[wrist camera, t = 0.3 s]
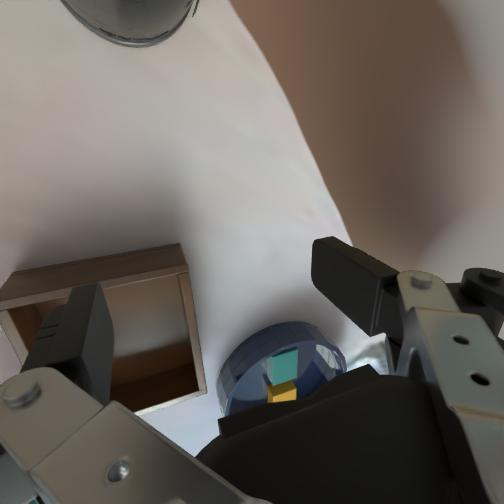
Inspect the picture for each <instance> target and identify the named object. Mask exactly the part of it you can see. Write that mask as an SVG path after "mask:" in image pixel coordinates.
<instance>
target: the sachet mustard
mask: <svg viewBox="0 0 504 504" xmlns="http://www.w3.org/2000/svg"><path fill="white" fill-rule="evenodd" d="M267 395H268V403H271V402H280V401H288V400H296V387H295V385H294V383H293V382H292V380H289V381H286V382H283V383H280V384H277V385H274V386H273V385H272V384H269V385H267Z"/></svg>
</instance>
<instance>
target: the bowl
mask: <svg viewBox="0 0 504 504" xmlns="http://www.w3.org/2000/svg"><path fill="white" fill-rule="evenodd" d="M295 346H296V347H297V349H298V363H297V378H294V379H291V380H292V382H293V383H294V385H295V387H296V400H297V399H304V398H306V397H308V396H310V395H311V394H312V393H314V392H315V391H316V390H318V389H319V388H320V387H322V386H323V385H325V384H326V383H327V382H329V381H330V380H331V379H333V378H334V377H335V376H337V375H340V374H342V373H345V372H346V371H347V367H346V362H345V357H344V356H343V354H342V353H341V351H340V350H339V348H338V347H337V346H336V345H335V344H334V343H333V342H332V341H331V339H330V338H329V337H328V336H327V335H326V334H325V333H324V332H323V331H322V330H321V329H319V328H318V327H316V326H314V325H312V324H309V323H305V322H285V323H281V324H276V325H274V326H271V327H268V328H266V329H264V330H261V331H260V332H258V333H256V334H254V335H253V336H251V337H250V338H248V339H247V340H246V341H244V342H243V343H242V344H241V345H240V346H239V347H238V348H237V349H236V350H235V351H234V352H233V353H232V354H231V356H230V357H229V358H228V359H227V361H226V363H225V364H224V366H223V368H222V370H221V372H220V375H219V378H218V382H217V396H218V401H219V405H220V409H221V412H222V415H223V417H225V416H228V415H231V414H233V413H236V412H239V411H242V410H244V409H247V408H250V407H252V406H255V405H258V404H262V403H268V395H267V385H269V384H272V383H271V381H270V379H269V378H268V376H267V358H269V357H271V356H273V355H275V354H277V353H279V352H280V351H282V350H285V349H289V348H292V347H295Z"/></svg>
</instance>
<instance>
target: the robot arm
mask: <svg viewBox="0 0 504 504" xmlns="http://www.w3.org/2000/svg"><path fill="white" fill-rule="evenodd" d="M193 1H194V0H61V2H62V3H63V4H64V6H65V7H66V8H67V9H68V10H69V11H70V13H71V14H72V15H73V16H74V17H75V18H76V19H77V20H78V21H79V22H80V23H82V24H83V25H84V26H85V27H86V28H88V29H89V30H91V31H92V32H93V33H95V34H97V35H98V36H100V37H102V38H104V39H106V40H108V41H110V42H113V43H115V44H118V45H122V46H127V47H136V48H139V47H149V46H153V45H156V44H159V43H161V42H163V41H165V40H166V39H168V38H169V37H171V36H172V35H173V34H174V33H175V32H176V31H177V30H178V29H179V28H180V26H181V25H182V23H183V22H184V20H185V18H186V17H187V15H188V13H189V11H190V8H191V5H192V3H193ZM198 3H199V0H197V3H196V6H195V9H194V12H193V16H194V14H195V12H196V9H197V6H198ZM193 16H192V17H193ZM311 278H312V282H313V284H314V286H315V287H316V288H317V289H318V290H319V291H320V292H321V293H322V294H323V295H324V296H325V297H327V298H328V299H329V300H330V301H331V302H332V303H333V304H334V305H335V306H336V307H338V308H339V309H340V310H341V311H342V312H343V313H344V314H345V315H346V316H347V317H348V318H350V319H351V320H352V321H353V322H354V323H355V324H356V325H357V326H358V327H359V328H361V329H362V330H363V331H364V332H365V333H366V334H367V335H368V336H369V337H372V336H375V335H378V334H381V333H385V334H386V337H385V349H386V356H387V362H388V369H389V375H379V374H378V373H377V372H376V371H375V369H374V368H373V367H372V366H371V365H370V364H367V365H364V366H361V367H359V368H356V369H353V370H350V371H348V372H345V373H342V374H340V375H337V376H335V377H334V378H333V379H331V380H330V381H329V382H327V383H326V384H325V385H323V386H322V387H320V388H319V389H318V390H316V391H315V392H314V393H312V394H311V395H310V396H308V397H306V398H304V399H297V400H288V401H280V402H271V403H262V404H258V405H255V406H252V407H250V408H247V409H244V410H242V411H239V412H236V413H233V414H231V415H228V416H225V417H223V418H220V419H218V426H219V433H220V435H219V436H218V437H216V438H215V439H213V440H212V441H211V442H210V443H209V444H208V445H207V446H205V447H204V448H203V449H202V450H201V451H200V452H199V453H198V455H197V456H196V457H193V456H192V455H191V454H189V453H188V452H187V451H185V450H184V449H182V448H181V447H180V446H178V445H177V444H176V443H174V442H173V441H171V440H170V439H169V438H167V437H166V436H165V435H163V434H162V433H160V432H159V431H158V430H156V429H155V428H154V427H152V426H151V425H149V424H148V423H147V422H145V421H144V420H143V419H141V418H140V417H139V416H137V415H136V414H134V413H133V412H132V411H130V410H129V409H128V408H126V407H125V406H123V405H122V404H121V403H119V402H117V401H114V400H111V401H110V402H109V398H110V386H111V374H112V362H113V350H114V328H113V323H112V319H111V316H110V312H109V309H108V306H107V303H106V299H105V296H104V293H103V290H102V287H101V284H100V283H99V282H95V283H90V284H85V285H80V286H75V287H73V288H72V290H71V293H70V296H69V299H68V301H67V304H62V305H58V306H56V307H55V308H54V309H53V310H52V311H50V312H49V313H48V314H47V315H46V316H45V317H44V319H43V322H42V324H41V326H40V328H39V329H40V331H38V333H37V335H36V337H35V341H34V342H33V344H32V346H31V349H30V351H29V353H28V355H27V358H26V360H25V362H24V364H23V367H22V369H21V371H20V373H19V374H18V375H16V376H14V377H12V378H10V379H8V380H7V381H5V382H4V383H2V384H1V385H0V504H28V503H29V502H31V501H32V500H35V501H36V502H37V503H38V504H504V340H502V339H500V338H499V337H498V334H499V332H500V329H501V327H502V324H503V322H504V273H502V272H499V271H495V270H491V269H486V268H470V269H467V270H465V271H464V274H463V277H462V281H461V283H445V282H444V281H443V280H442V279H441V278H439V277H437V276H435V275H433V274H430V273H427V272H422V271H413V270H411V271H404V272H401V273H400V272H398V271H397V270H395V269H393V268H391V267H390V266H388V265H386V264H384V263H383V262H381V261H379V260H376V259H375V258H374V257H372V256H370V255H368V254H367V253H365V252H363V251H361V250H360V249H357V248H354V247H351V246H349V245H348V244H346V243H344V242H343V241H341V240H339V239H337V238H336V237H334V236H331V237H325V238H320V239H316V240H314V242H313V245H312V263H311Z"/></svg>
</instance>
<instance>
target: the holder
mask: <svg viewBox="0 0 504 504" xmlns="http://www.w3.org/2000/svg"><path fill="white" fill-rule="evenodd" d="M95 282H99V283H100V284H101V287H102V290H103V293H104V296H105V299H106V303H107V306H108V309H109V312H110V316H111V319H112V323H113V328H114V350H113V362H112V374H111V386H110V398H109V402H110V401H111V400H114V401H117V402H119V403H121V404H122V405H123V406H125V407H126V408H128V409H129V410H130V411H132V412H133V413H134V414H136V415H137V416H141V415H144V414H147V413H150V412H153V411H156V410H159V409H162V408H165V407H168V406H171V405H174V404H177V403H180V402H183V401H186V400H189V399H192V398H195V397H198V396H201V395H204V394H207V388H206V381H205V374H204V368H203V361H202V355H201V348H200V342H199V335H198V329H197V322H196V316H195V309H194V303H193V296H192V290H191V284H190V277H189V272H188V264H187V261H186V259H185V256H184V253H183V251H182V248H181V245H180V243H178V244H172V245H167V246H161V247H155V248H150V249H144V250H138V251H132V252H127V253H121V254H115V255H110V256H104V257H98V258H93V259H87V260H81V261H76V262H70V263H64V264H58V265H53V266H47V267H41V268H36V269H30V270H24V271H19V272H13V273H12V274H11V275H10V277H9V278H8V279H7V281H6V282H5V283H4V285H3V286H2V287H1V289H0V323H1V325H2V327H3V329H4V331H5V333H6V335H7V337H8V339H9V341H10V343H11V344H12V346H13V348H14V350H15V352H16V354H17V356H18V358H19V360H20V362H21V364H22V365H23V364H24V362H25V360H26V358H27V355H28V353H29V351H30V349H31V346H32V344H33V342H34V341H35V337H36V335H37V333H38V331H40V329H39V328H40V326H41V324H42V322H43V319H44V317H45V316H46V315H47V314H48V313H49V312H50V311H52V310H53V309H54V308H55V307H56V306H58V305H62V304H67V301H68V299H69V296H70V293H71V290H72V288H73V287H75V286H80V285H85V284H90V283H95Z"/></svg>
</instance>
